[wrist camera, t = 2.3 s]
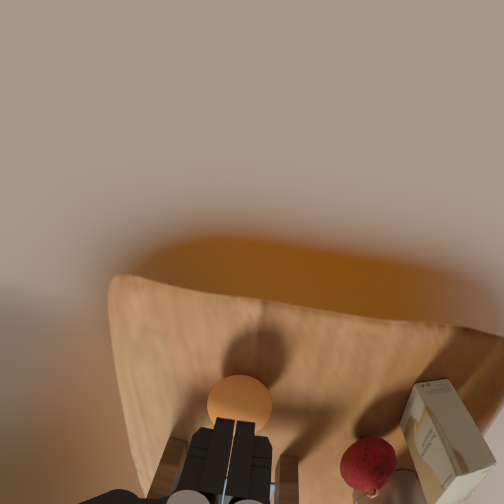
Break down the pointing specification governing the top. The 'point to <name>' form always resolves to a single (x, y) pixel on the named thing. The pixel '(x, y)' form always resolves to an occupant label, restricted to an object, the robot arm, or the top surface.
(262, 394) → the ball
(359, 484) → the onion
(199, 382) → the top surface
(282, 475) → the bridge
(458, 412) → the skincare box
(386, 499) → the robot arm
